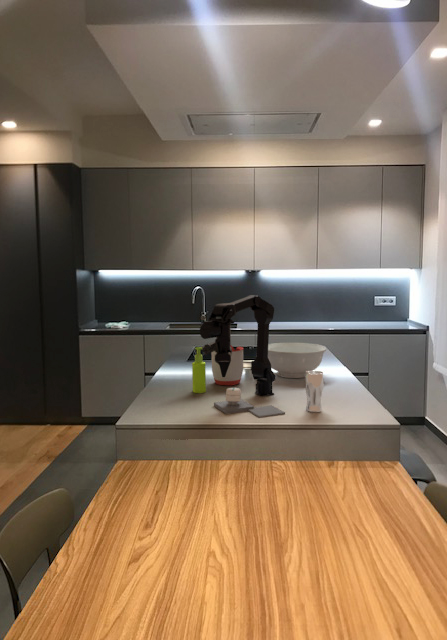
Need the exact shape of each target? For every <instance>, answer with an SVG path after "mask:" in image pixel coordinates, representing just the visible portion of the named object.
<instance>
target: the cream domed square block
mask: <svg viewBox="0 0 447 640" xmlns="http://www.w3.org/2000/svg"><path fill="white" fill-rule="evenodd" d="M241 399H242V392H241V388H239V387H228V388H226V395H225V401H240V400H241Z"/></svg>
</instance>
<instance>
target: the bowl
mask: <svg viewBox="0 0 447 640" xmlns="http://www.w3.org/2000/svg"><path fill="white" fill-rule="evenodd" d="M326 350H327V347H325V346H324V345H321V344H317V343H308V342H276V343H268V359H269V361H270V363H271V370H272V369H273V370H274V371H277V375H278V376H280V377H283V378H290V379H301V378H305V376H306V372H307V371H316V369H317V368H319V367H320V366H321V363H322V361H323V356H324V353H325V352H326Z"/></svg>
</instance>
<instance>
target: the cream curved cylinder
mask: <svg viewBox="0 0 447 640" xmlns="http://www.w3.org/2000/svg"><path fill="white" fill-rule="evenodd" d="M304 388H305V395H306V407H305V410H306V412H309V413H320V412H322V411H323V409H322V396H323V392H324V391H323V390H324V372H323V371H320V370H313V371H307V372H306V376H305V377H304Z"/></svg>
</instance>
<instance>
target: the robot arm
mask: <svg viewBox="0 0 447 640" xmlns="http://www.w3.org/2000/svg"><path fill="white" fill-rule="evenodd" d="M249 308H250V310H251V311H252V312H253V315H254V319H255V321H256V324H257V331H256V332H257V333H256V334H257V335H256V356H255V358H254V359H253V360H252V361H250V371H251V374H252V377H253V380H256V382H255V391H254V393H255V394H256V395H259V396H260V397H266V396H273V395H275V392H273V382H274V381H276V378H277V375H276V373H274V371H273V370H272V368H271V363H270V361H269V359H268V344H269V338H270V337H269V336H270V324H271V322H272V321H273V319H274V314H275V307H274V306H273V304H271V303H269V302H268V301H266V300H265V299H262V298H261V297H260V296H259V295H257V294H256V295H255V294H254V295H253V294H250V295H247V296H246V297H243V298H240V299H237V300H234V301H232V302H226V303H217V304H215V305H214V307H213V309H212V311H211V313H210V315H209V318H208V319H207V320H204V321H202V324H201V326H200V328H199V334H200V337H201V338H202V339H204V340H207V339H214V338H215V340H214V341H213V342H210V343H206V344H204V345H203V346H201V347H202V349H201V350H202V352H203V354H204V356H207V355H208V354H212V353H211V352H214V351H215V352H217V353H216V354H215V362H216V363H218V364H219V366H220V370H221V374H222V377H225V376H226V373H227V370H228V368H229V365H230V362H231V355H232V354H230V353H232V348H231V346H232V337H231V334H232V333H231V325H234V324H235V321H234V320H232V318H233V317H234V316H236V314H237V313H238V312H241V311H243V310H245V309H249ZM229 352H230V353H229Z"/></svg>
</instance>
